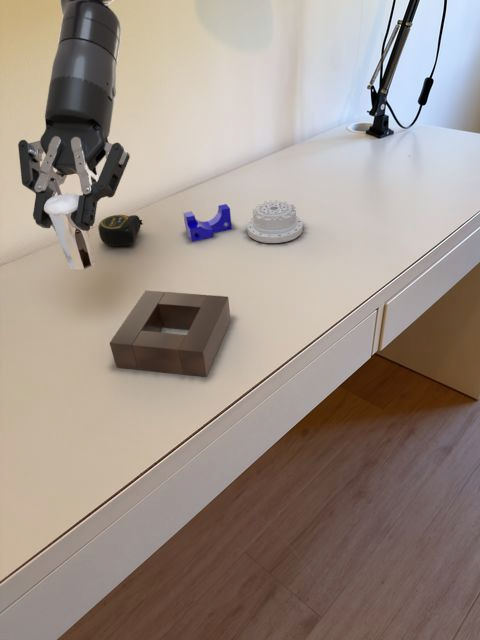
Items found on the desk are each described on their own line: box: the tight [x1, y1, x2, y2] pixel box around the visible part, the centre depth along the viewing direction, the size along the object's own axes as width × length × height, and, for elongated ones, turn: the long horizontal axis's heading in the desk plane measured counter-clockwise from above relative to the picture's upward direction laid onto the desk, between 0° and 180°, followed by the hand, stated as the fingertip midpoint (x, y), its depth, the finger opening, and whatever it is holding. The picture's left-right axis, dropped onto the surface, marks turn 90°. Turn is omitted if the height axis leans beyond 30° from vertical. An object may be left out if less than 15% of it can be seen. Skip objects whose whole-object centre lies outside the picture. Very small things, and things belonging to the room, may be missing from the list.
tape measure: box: [97, 214, 144, 247], centre depth 93 cm, size 7×7×4 cm
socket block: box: [109, 289, 232, 378], centre depth 69 cm, size 12×12×4 cm
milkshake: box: [44, 180, 96, 271], centre depth 65 cm, size 4×5×10 cm
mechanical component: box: [246, 199, 304, 244], centre depth 93 cm, size 10×4×10 cm
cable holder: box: [183, 203, 233, 243], centre depth 94 cm, size 8×4×4 cm, turn 112°
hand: (62, 226), depth 63 cm, fingers closed on milkshake, 4 cm apart
